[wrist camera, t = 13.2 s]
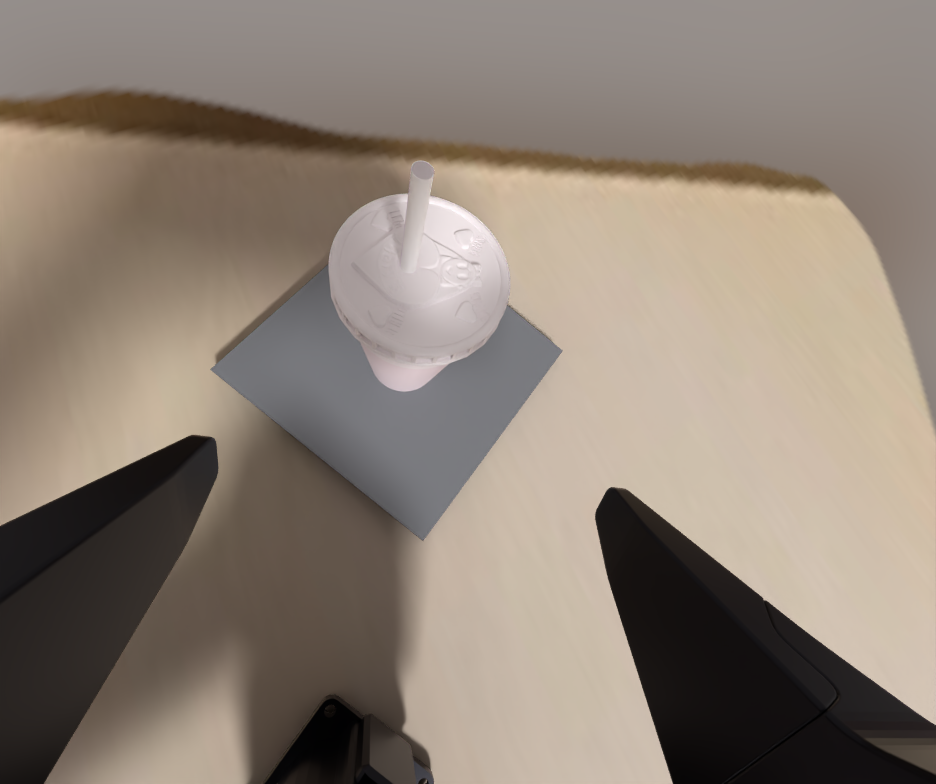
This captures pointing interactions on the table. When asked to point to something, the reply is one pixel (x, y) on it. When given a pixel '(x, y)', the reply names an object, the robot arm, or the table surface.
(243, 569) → the table surface
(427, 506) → the placemat
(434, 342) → the smoothie
